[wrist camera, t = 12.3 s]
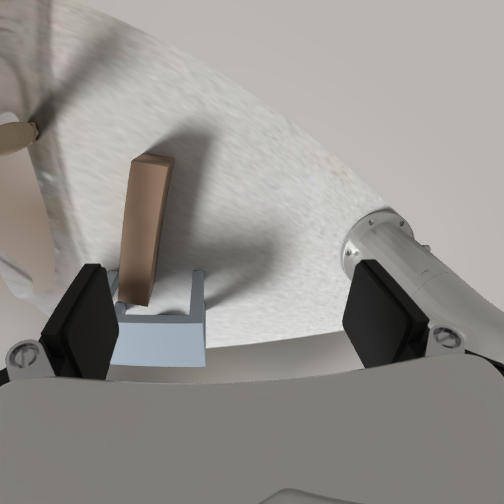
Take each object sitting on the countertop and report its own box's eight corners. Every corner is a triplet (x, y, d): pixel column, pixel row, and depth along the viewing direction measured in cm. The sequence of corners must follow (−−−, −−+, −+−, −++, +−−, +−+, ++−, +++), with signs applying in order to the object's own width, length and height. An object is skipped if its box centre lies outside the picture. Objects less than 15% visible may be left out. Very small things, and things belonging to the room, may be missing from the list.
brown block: (174, 158, 35) (167, 167, 30) (154, 282, 43) (147, 306, 37) (143, 152, 34) (131, 160, 29) (128, 277, 42) (118, 300, 36)
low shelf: (203, 270, 42) (202, 323, 32) (205, 310, 45) (205, 366, 35) (109, 271, 41) (83, 320, 30) (117, 310, 44) (98, 362, 33)
